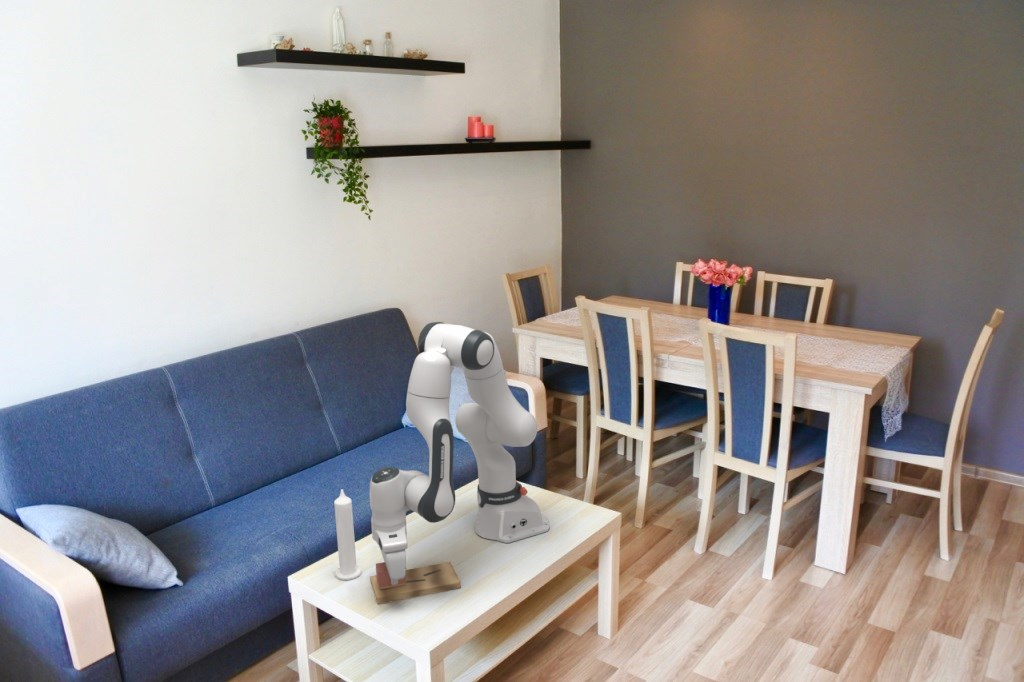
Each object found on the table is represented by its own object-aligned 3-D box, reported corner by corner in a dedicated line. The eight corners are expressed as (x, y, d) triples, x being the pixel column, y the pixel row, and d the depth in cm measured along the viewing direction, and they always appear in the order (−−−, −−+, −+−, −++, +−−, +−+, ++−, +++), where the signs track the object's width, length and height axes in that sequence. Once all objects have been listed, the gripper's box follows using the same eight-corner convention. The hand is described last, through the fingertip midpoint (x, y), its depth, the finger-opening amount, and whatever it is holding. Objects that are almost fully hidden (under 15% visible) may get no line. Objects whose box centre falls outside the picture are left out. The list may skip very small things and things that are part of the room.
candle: (357, 564, 226) (350, 481, 220) (365, 576, 220) (359, 491, 214) (332, 571, 223) (325, 487, 216) (339, 583, 217) (332, 497, 210)
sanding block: (403, 576, 216) (402, 559, 215) (406, 584, 212) (405, 567, 210) (376, 580, 214) (375, 563, 213) (379, 589, 210) (378, 572, 208)
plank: (450, 567, 223) (450, 561, 223) (460, 587, 213) (460, 581, 213) (370, 582, 217) (370, 576, 216) (377, 604, 207) (376, 597, 206)
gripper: (370, 514, 218) (374, 560, 221) (383, 550, 199) (386, 600, 202) (394, 510, 219) (396, 556, 223) (409, 545, 201) (411, 595, 204)
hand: (392, 577), depth 212 cm, fingers closed on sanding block, 4 cm apart
